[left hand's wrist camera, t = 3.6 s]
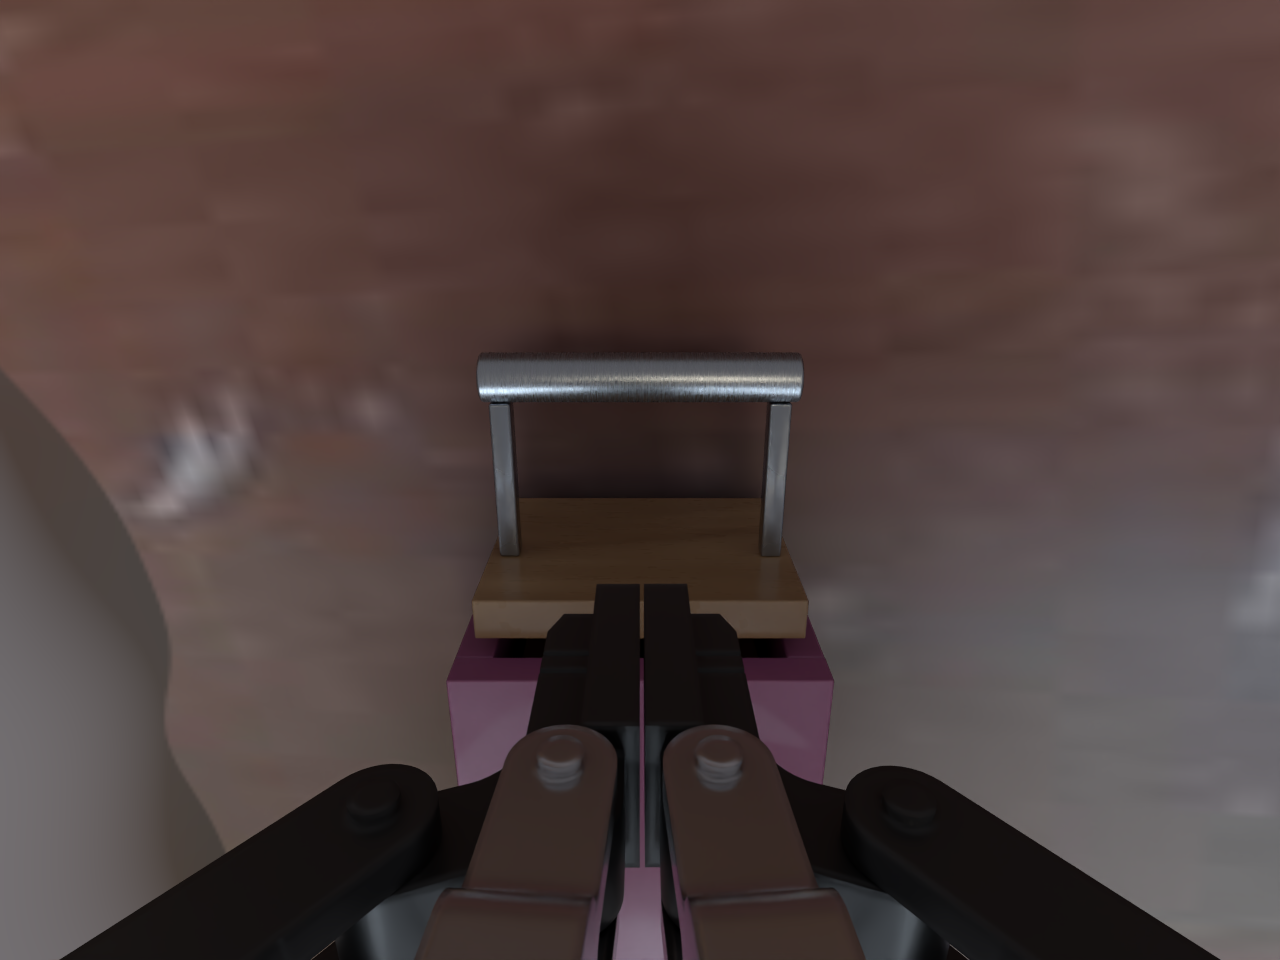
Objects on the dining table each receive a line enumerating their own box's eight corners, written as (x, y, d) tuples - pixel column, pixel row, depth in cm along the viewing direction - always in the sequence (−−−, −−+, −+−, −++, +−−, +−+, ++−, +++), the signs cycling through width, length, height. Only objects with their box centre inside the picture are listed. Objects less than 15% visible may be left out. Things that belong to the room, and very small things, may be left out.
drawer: (502, 325, 25) (449, 377, 18) (778, 325, 25) (830, 377, 18) (539, 896, 34) (515, 1071, 27) (740, 896, 34) (765, 1070, 27)
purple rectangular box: (504, 530, 28) (445, 680, 20) (776, 530, 28) (834, 680, 20) (532, 926, 36) (499, 1158, 27) (747, 926, 36) (781, 1159, 27)
